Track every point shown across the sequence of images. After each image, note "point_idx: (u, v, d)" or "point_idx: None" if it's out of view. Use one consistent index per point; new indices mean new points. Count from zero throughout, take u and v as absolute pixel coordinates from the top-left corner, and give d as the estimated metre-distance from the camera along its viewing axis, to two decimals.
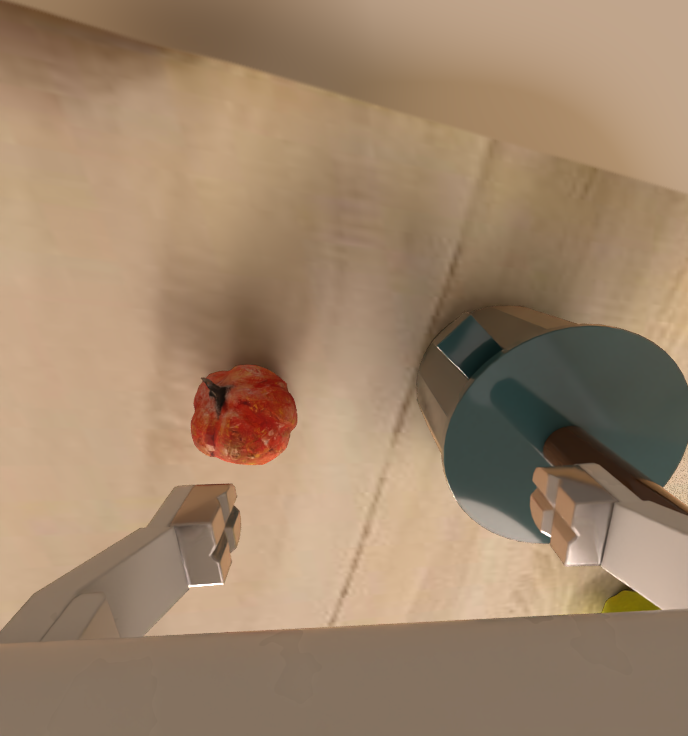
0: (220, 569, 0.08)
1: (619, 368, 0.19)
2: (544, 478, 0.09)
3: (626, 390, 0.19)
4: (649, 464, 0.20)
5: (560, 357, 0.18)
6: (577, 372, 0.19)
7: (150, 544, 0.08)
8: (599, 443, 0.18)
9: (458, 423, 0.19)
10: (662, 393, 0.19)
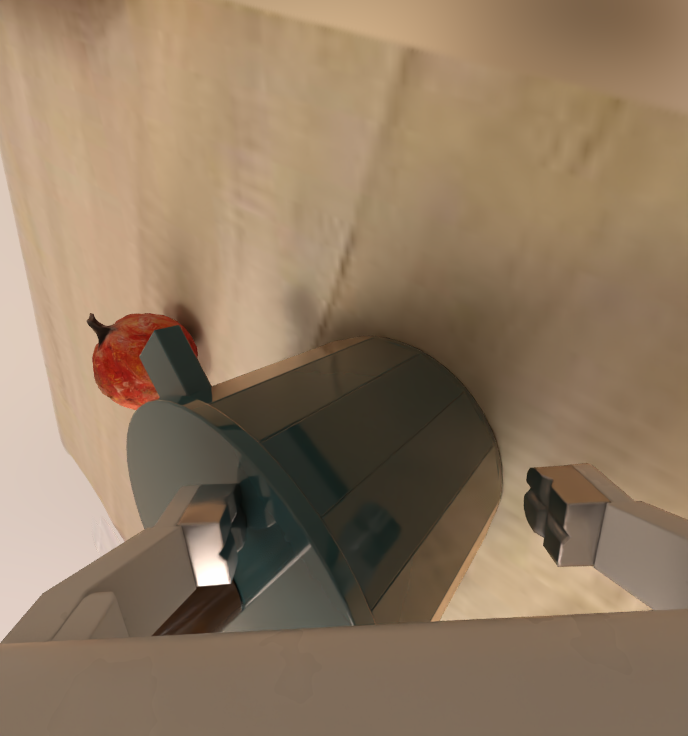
0: (227, 569, 0.08)
1: (246, 513, 0.10)
2: (537, 478, 0.09)
3: (264, 559, 0.10)
4: None
5: (183, 446, 0.11)
6: (203, 482, 0.11)
7: (159, 543, 0.08)
8: None
9: (131, 468, 0.15)
10: (317, 610, 0.09)
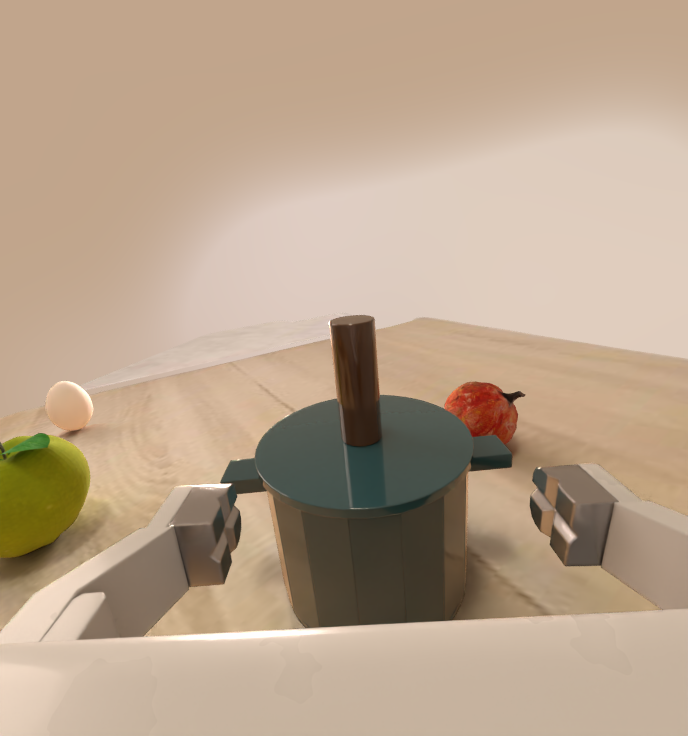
0: (220, 569, 0.08)
1: (407, 473, 0.19)
2: (544, 478, 0.09)
3: (380, 472, 0.19)
4: (291, 467, 0.20)
5: (445, 450, 0.21)
6: (424, 454, 0.21)
7: (150, 544, 0.08)
8: (373, 415, 0.22)
9: (429, 405, 0.26)
10: (354, 491, 0.18)
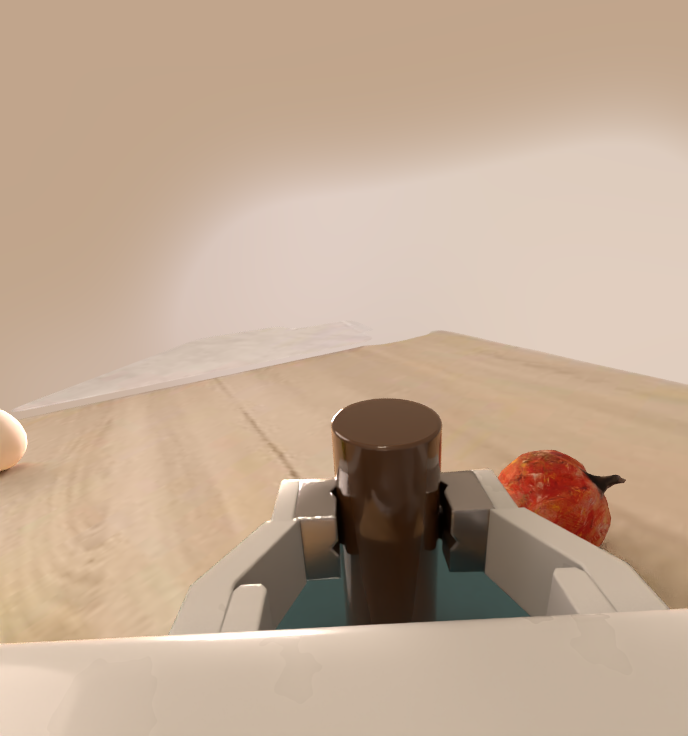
0: (339, 563, 0.08)
1: None
2: None
3: None
4: None
5: None
6: None
7: (283, 537, 0.08)
8: None
9: None
10: None
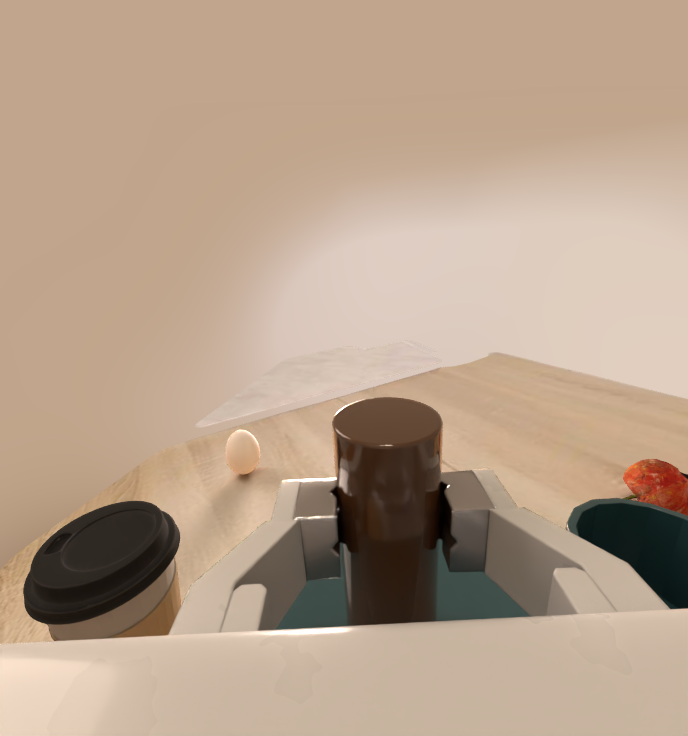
0: (339, 563, 0.08)
1: None
2: None
3: None
4: None
5: None
6: None
7: (283, 537, 0.08)
8: None
9: None
10: None
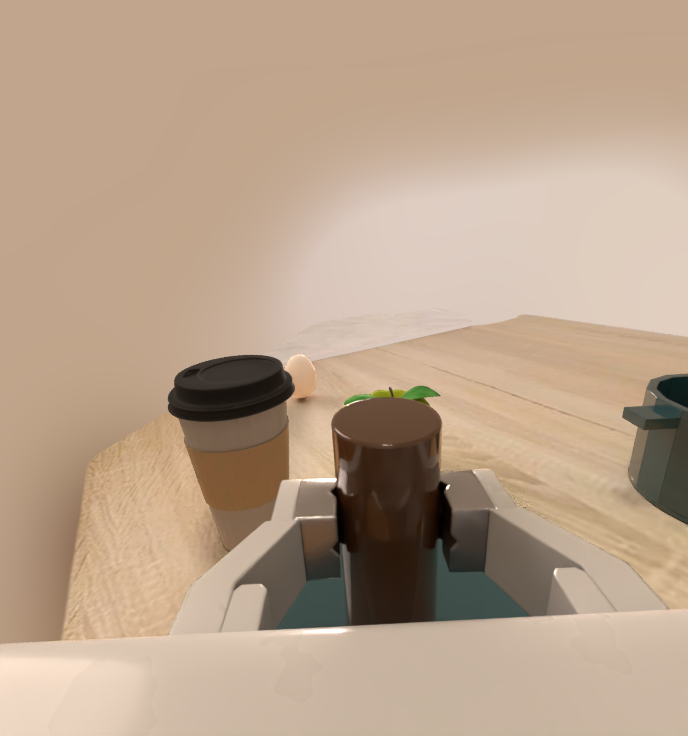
0: (339, 563, 0.08)
1: None
2: None
3: None
4: None
5: None
6: None
7: (283, 537, 0.08)
8: None
9: None
10: None
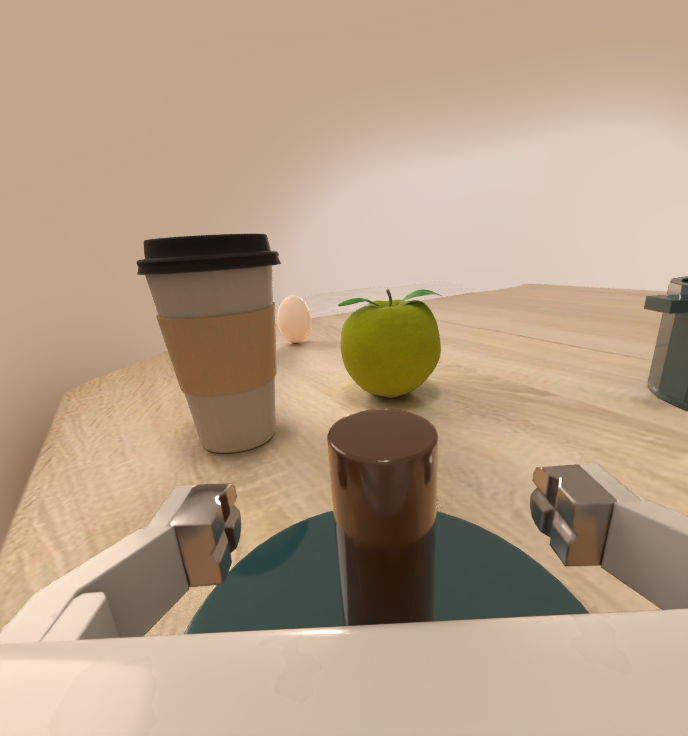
0: (220, 569, 0.08)
1: None
2: (544, 478, 0.09)
3: None
4: None
5: None
6: None
7: (150, 544, 0.08)
8: None
9: (509, 551, 0.14)
10: None
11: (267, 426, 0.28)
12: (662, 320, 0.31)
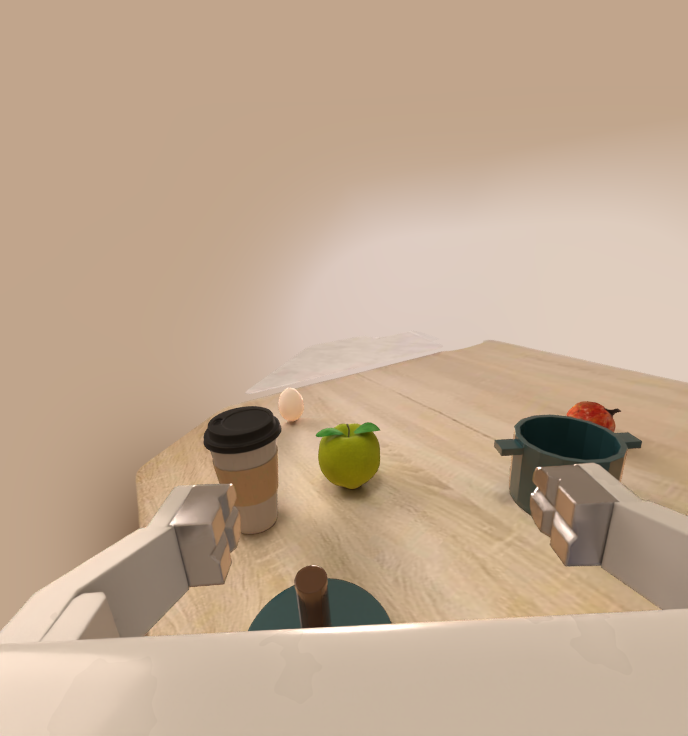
0: (220, 569, 0.08)
1: None
2: (544, 478, 0.09)
3: None
4: None
5: None
6: None
7: (150, 544, 0.08)
8: None
9: (375, 604, 0.35)
10: None
11: (272, 517, 0.48)
12: None
